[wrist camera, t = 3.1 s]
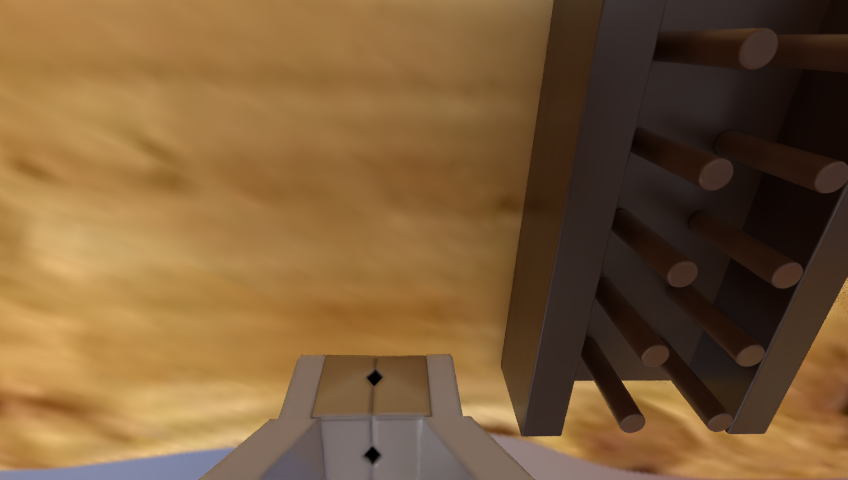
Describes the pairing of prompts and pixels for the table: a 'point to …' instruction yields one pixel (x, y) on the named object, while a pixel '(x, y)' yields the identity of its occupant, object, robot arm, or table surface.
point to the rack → (681, 206)
